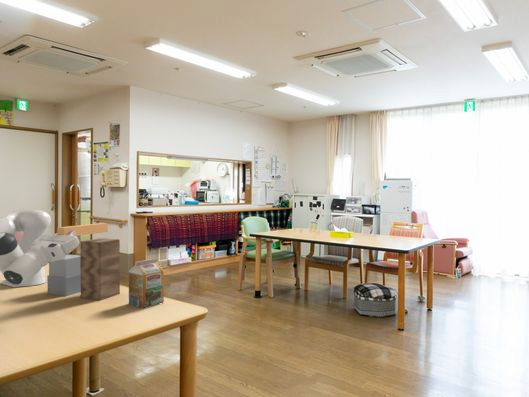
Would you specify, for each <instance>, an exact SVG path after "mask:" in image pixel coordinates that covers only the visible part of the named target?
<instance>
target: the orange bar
mask: <svg viewBox="0 0 529 397" xmlns="http://www.w3.org/2000/svg"><path fill="white" fill-rule="evenodd" d="M108 226H109V225H108V223H106V222H97V223H90V224H89V223H88V224H80V225H68V226H67V225H66V226H59V227H56V228H57V232H56V233H58V235H69V234H70V233H69V232H70V231H75V232H76V234H75V235H74V236H77V237H78V236H85V235H86V236H87V235H94V234H101V233H108V232H109V231H108Z"/></svg>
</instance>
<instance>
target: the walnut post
mask: <svg viewBox="0 0 529 397" xmlns="http://www.w3.org/2000/svg"><path fill="white" fill-rule="evenodd" d="M79 246H80V248H79V249H80V250H79V252H80V254H79V255H80V267H81V292H80V298H83V299H89V300H97V301H103V300H106V299H109V298H112V297H115V296H117V294H118V295H120V294H121V286H120V283H121V281H120V280H121V272H120V271H121V270H120V269H121V268H120V265H121V264H120V263H121V262H120V260H121V259H120V255H121V254H120V250H121V248H120V247H121V246H120V239H116V238H115V239H114V238H104V237H103V238H100V237H98V238H93V239H85V240H79Z"/></svg>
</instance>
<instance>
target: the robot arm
mask: <svg viewBox="0 0 529 397" xmlns="http://www.w3.org/2000/svg"><path fill="white" fill-rule="evenodd" d="M51 224H52V217H51V216H50V213H47V212H46V211H44V210H41V209H26V208H25V209H24V208H22V209H18V210H14V211H12V212H11V213H9V214H7V215H5V216H4V217H1V218H0V272H1V274H2V276H3V278H4V279H5V280H1V281H0V284H1V285H5V286H8V287H12V288H18V287H31V286H38V285H42V284H45V283H46V282H47V277H46V271H45V266H47V265H49V262H53V261H57V260H62V259H64V258H65V257H66V255H70V253H71V252H73V251H74V250H75V249H76V248H77V247H78V246H80V239H79V238H78V236H74V235H75V234H76V232H75V231H70V232H69V233H70V234H69V235H58V232H56V233H54V234H50V233H49V234H48V233H46V231H47V229H48V228H49V227H50V226H51ZM21 232H23V233H22V236H21V238H20V240H19V241H17V238H16V237H15V236H16V235H17V234H19V233H21Z"/></svg>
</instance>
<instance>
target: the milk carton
mask: <svg viewBox="0 0 529 397" xmlns="http://www.w3.org/2000/svg"><path fill="white" fill-rule="evenodd" d="M164 273H165V271H164V269H163V268H162V266H161V265H160V264H159V262H158V259H157V258H153V259H145V260H139V261H135V265H134V266H132V267H131V268H130V269H129V270H128V304H129V305H131V306H134V307H137V308H140V309H147V308H150V307H149V306H151V307H153V305H155V306H157V305H156V304H158V305H160V304H159V303H162V304H164V303H163V302H164V301H165V297H164V295H165V287H164V286H165V284H164V283H165V278H164V277H165V276H164ZM146 307H147V308H146Z"/></svg>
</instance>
